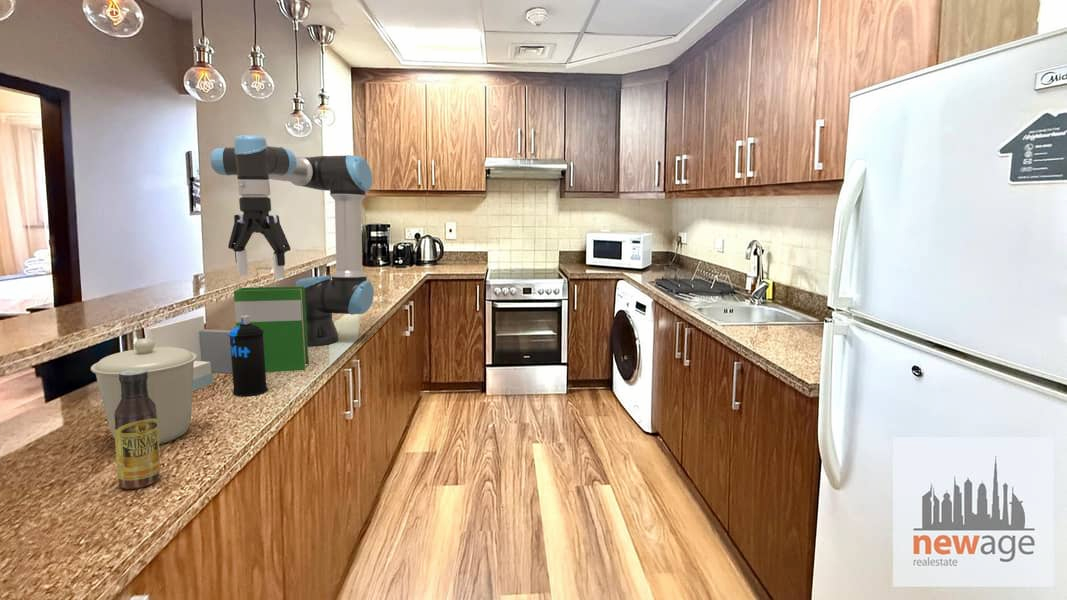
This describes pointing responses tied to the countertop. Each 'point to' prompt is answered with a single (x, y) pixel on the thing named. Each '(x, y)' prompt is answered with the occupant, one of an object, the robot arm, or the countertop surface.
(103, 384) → the canister
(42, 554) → the countertop surface
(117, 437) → the sauce bottle
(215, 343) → the bookend
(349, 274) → the robot arm
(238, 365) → the aerosol can
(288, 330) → the hardback book
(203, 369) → the book stack block
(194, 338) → the shelf back board
